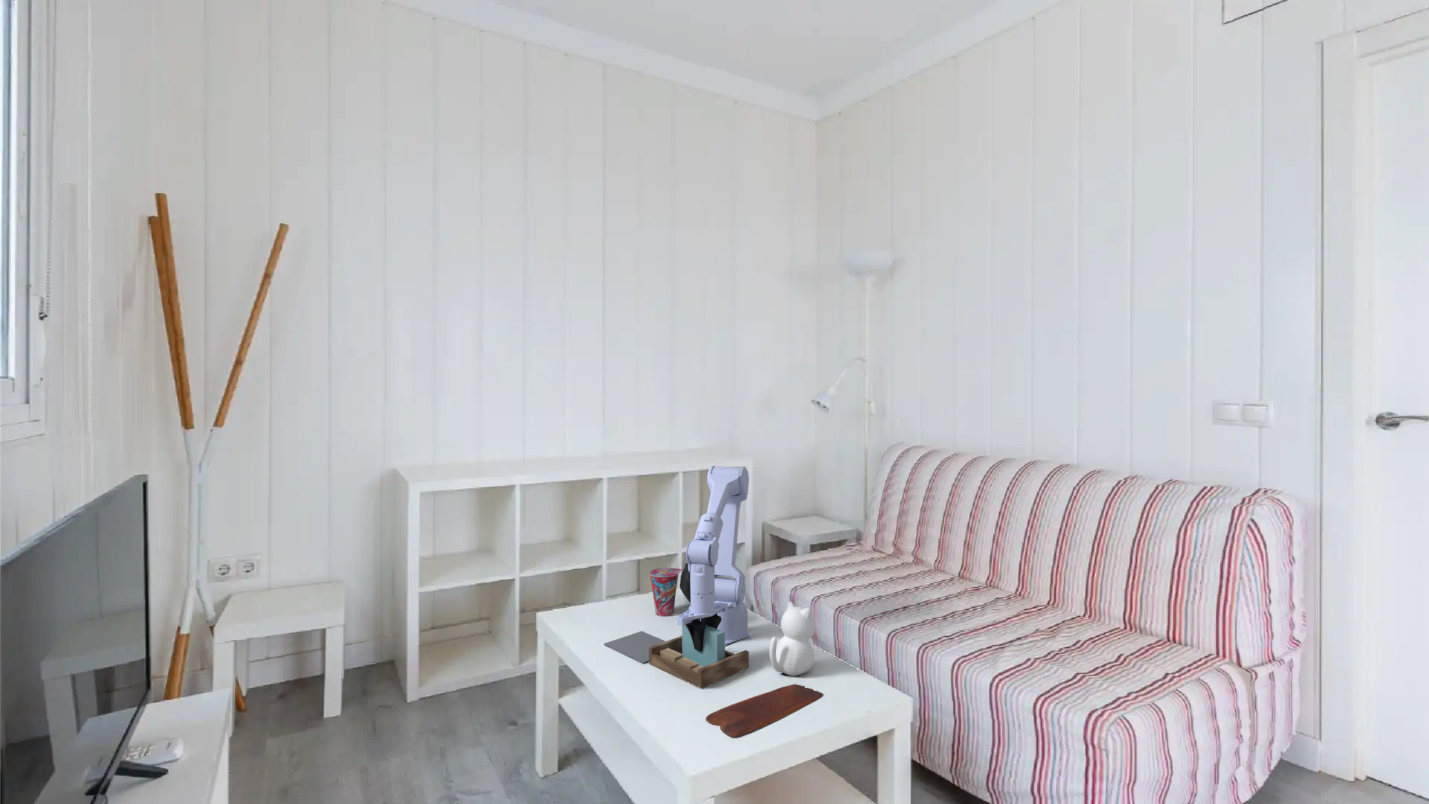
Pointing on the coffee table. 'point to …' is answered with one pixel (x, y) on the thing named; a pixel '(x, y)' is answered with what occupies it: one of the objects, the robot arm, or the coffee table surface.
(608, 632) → the coffee table surface
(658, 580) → the cup
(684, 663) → the offcuts
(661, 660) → the rack
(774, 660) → the cat figurine
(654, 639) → the mat
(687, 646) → the teal rectangular block
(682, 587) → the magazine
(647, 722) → the coffee table surface
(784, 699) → the wooden tablet
